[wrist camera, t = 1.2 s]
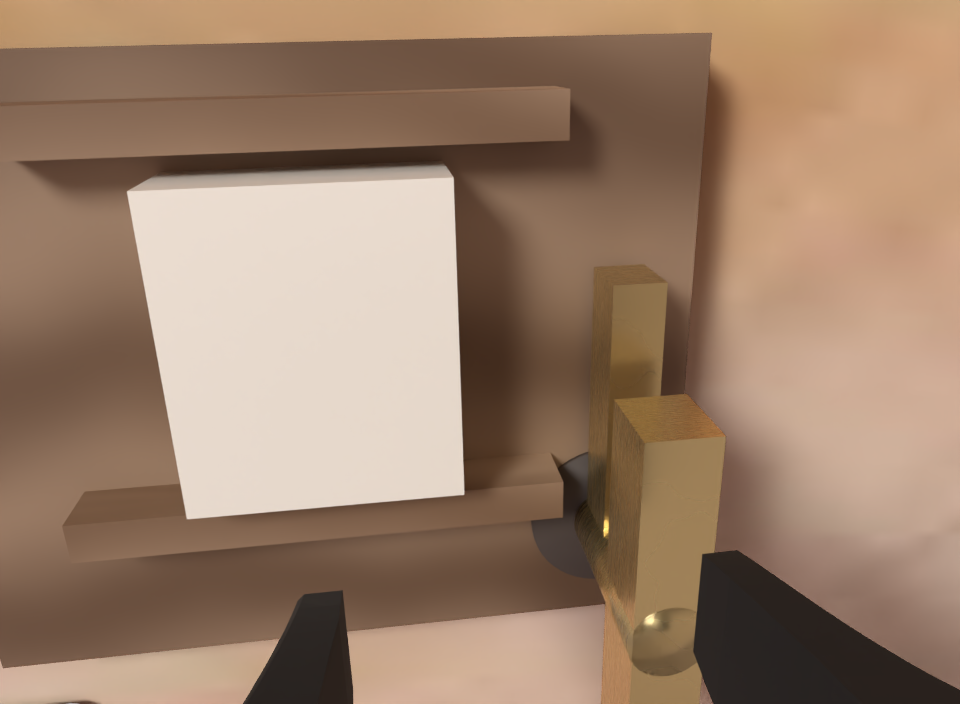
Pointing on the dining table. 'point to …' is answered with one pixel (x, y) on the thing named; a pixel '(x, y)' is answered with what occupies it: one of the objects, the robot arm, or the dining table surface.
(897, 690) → the robot arm
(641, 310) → the brass T-key
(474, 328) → the board
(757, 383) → the dining table surface
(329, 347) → the cream cover
